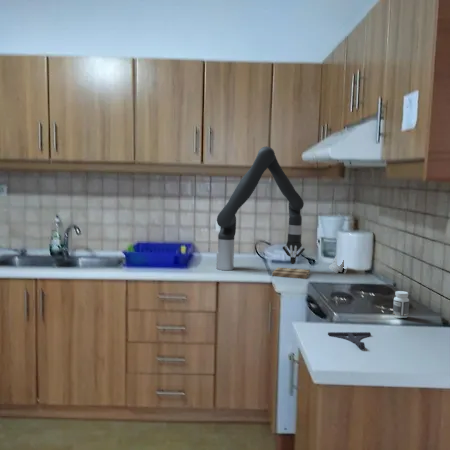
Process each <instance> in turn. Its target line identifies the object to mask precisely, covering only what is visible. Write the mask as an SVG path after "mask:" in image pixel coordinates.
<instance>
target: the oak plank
mask: <svg viewBox="0 0 450 450" xmlns="http://www.w3.org/2000/svg"><path fill="white" fill-rule="evenodd" d="M275 270H284V271H297V272H308V276H309V275H310V271H311V270H310V269H304V268H303V269H301V268H290V267H279V266H278V267H277V268H275Z"/></svg>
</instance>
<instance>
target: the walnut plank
mask: <svg viewBox="0 0 450 450" xmlns="http://www.w3.org/2000/svg"><path fill="white" fill-rule="evenodd" d="M271 274H272V277H278V278H279V277H280V278H290V279H291V278H293V279H301V280H302V279H304V280H306V279H307V278H308V276H309V275H308V272H297V271H284V270H276V269H274V271H273V272H272V273H271Z"/></svg>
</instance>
